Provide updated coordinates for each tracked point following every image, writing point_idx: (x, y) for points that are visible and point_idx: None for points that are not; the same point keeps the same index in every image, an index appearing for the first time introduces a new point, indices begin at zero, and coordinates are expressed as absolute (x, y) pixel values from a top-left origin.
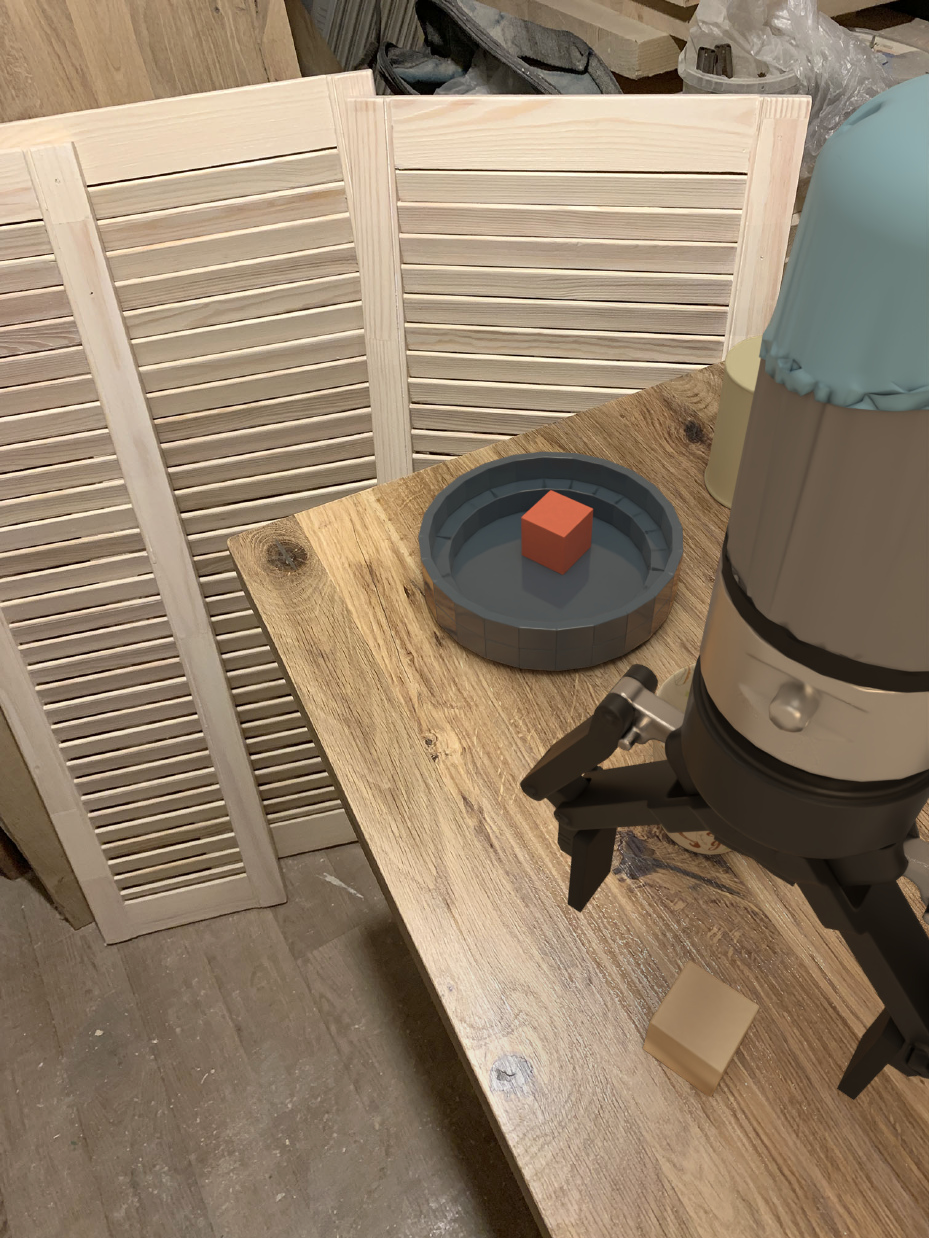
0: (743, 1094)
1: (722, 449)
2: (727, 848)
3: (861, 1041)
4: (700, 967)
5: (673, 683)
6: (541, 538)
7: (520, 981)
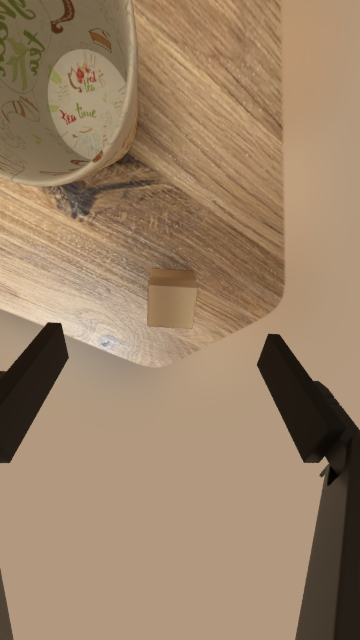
0: (202, 298)
1: None
2: (128, 149)
3: (270, 350)
4: (156, 285)
5: None
6: None
7: (80, 308)
